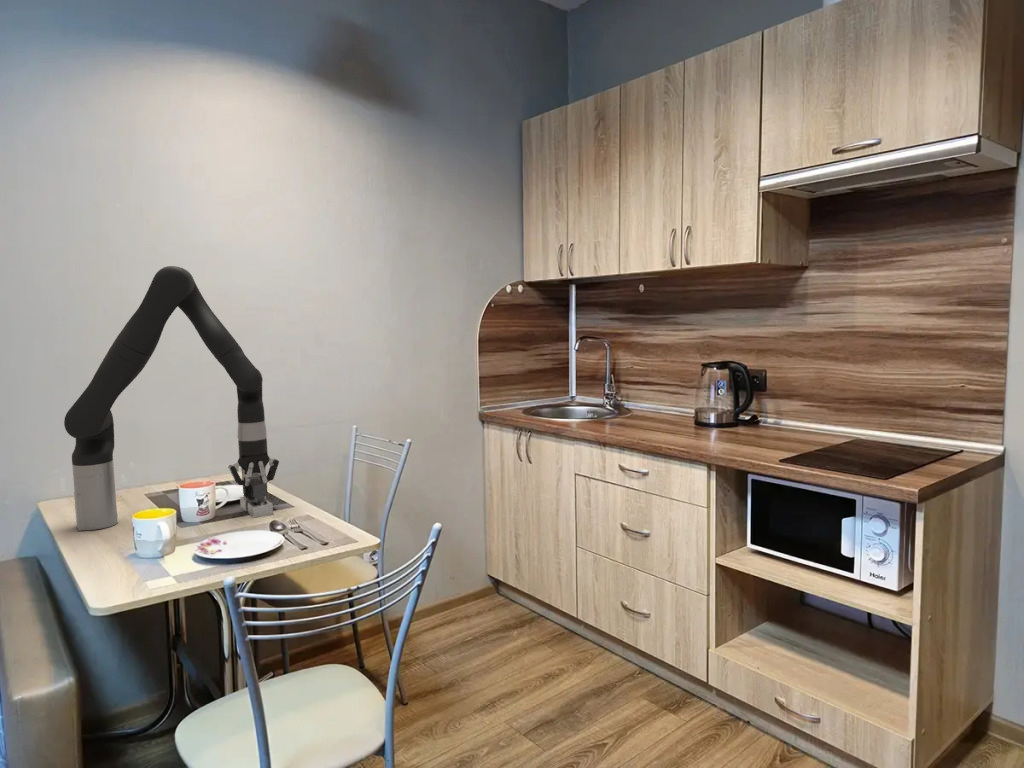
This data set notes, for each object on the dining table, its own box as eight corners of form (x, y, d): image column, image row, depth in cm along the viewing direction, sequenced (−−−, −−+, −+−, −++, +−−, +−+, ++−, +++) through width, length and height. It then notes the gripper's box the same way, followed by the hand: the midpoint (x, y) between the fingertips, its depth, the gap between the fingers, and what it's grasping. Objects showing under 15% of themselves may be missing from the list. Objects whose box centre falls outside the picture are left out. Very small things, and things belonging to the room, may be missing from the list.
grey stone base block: (253, 517, 185) (253, 504, 184) (240, 507, 195) (239, 495, 195) (273, 514, 188) (272, 501, 187) (259, 504, 198) (258, 492, 198)
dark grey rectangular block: (254, 510, 187) (253, 486, 186) (245, 503, 194) (244, 480, 193) (267, 508, 189) (266, 484, 188) (258, 501, 196) (256, 478, 195)
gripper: (229, 442, 182) (233, 504, 184) (281, 436, 191) (285, 495, 192) (222, 438, 188) (226, 498, 190) (273, 432, 197) (276, 490, 198)
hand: (256, 496), depth 191 cm, fingers closed on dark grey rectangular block, 3 cm apart
